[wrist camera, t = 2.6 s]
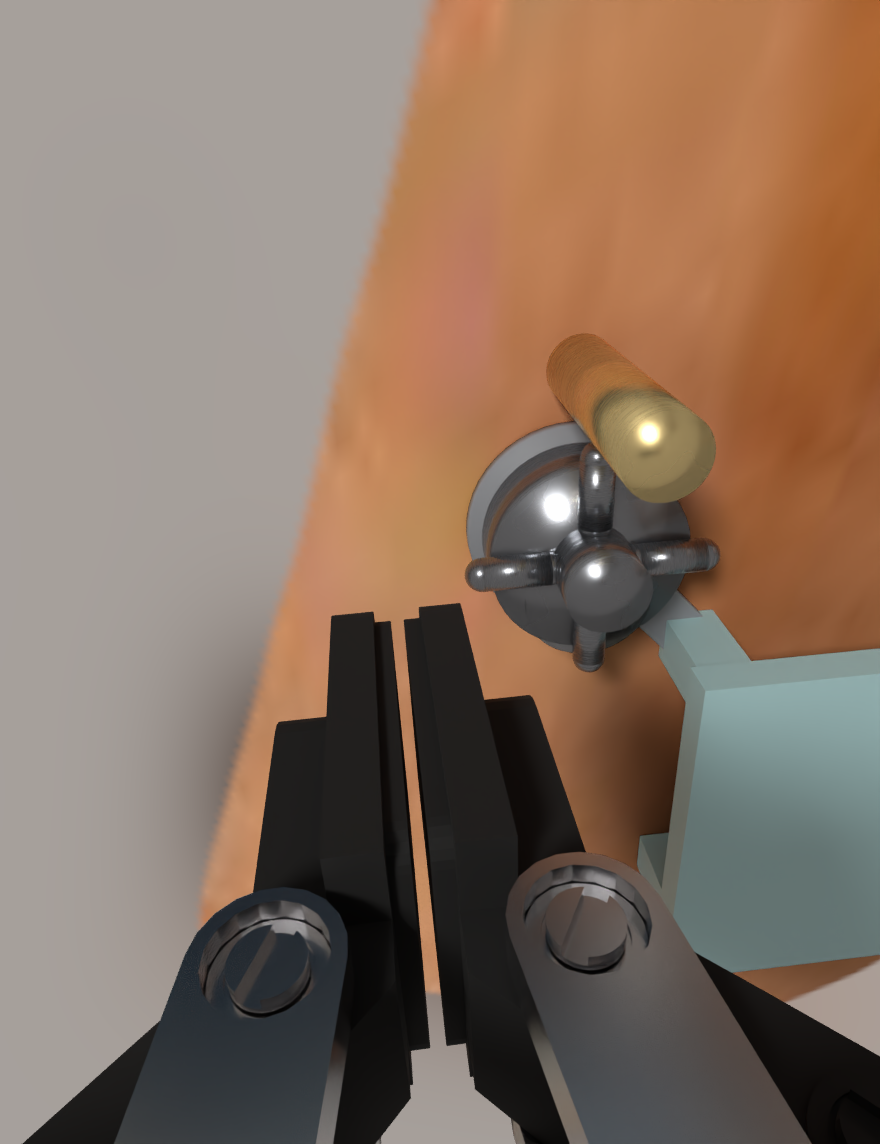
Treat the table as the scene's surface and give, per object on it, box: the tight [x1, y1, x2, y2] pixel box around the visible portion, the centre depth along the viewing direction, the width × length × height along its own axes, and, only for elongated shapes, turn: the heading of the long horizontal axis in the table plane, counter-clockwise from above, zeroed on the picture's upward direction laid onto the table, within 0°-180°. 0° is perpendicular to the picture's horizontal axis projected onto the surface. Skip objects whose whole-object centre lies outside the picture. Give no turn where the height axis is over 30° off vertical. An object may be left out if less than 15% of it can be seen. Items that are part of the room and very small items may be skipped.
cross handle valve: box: [465, 334, 720, 672], centre depth 21 cm, size 10×8×7 cm
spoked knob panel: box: [466, 421, 880, 973], centre depth 27 cm, size 22×18×5 cm
